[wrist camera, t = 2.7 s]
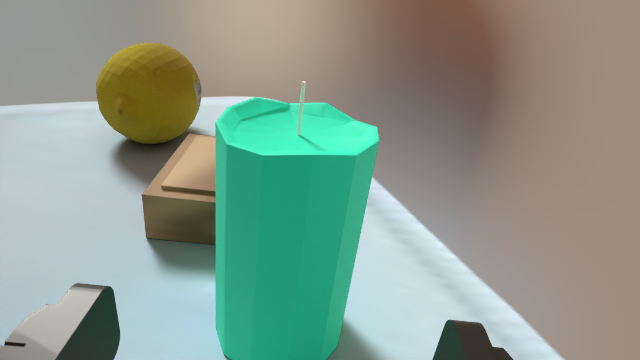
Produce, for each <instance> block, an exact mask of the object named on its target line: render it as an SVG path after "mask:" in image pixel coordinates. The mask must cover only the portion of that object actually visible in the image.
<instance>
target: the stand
mask: <svg viewBox="0 0 640 360" xmlns="http://www.w3.org/2000/svg"><path fill="white" fill-rule="evenodd" d="M142 200H143V210H144V220H145V231H146V238H154V239H163V240H173V241H182V242H192V243H201V244H211V245H216V137H215V136H206V135H198V134H188V136H187V137H186V138H185V140H184V141H183V142H182V143H181V145H180V146H179V147H178V149H177V150H176V151H175V152H174V154H173V155H172V156H171V158H170V159H169V160H168V161H167V163H166V164H165V165H164V167H163V168H162V169H161V170H160V172H159V173H158V174H157V176H156V177H155V178H154V180H153V181H152V182H151V183H150V185H149V186H148V187H147V189H146V190H145V191H144V192H143V194H142Z"/></svg>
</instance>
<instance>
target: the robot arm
mask: <svg viewBox="0 0 640 360" xmlns="http://www.w3.org/2000/svg"><path fill="white" fill-rule="evenodd" d="M119 341H120V328H119V322H118V316H117V309H116V303H115V297H114V292H113V289H112V288H111V287H110V286H100V285H90V284H79V283H77V284H74V285H73V286H72V287H71V288H70V289H69V290H68V291H67V293H66V294H65V295H64V296H63V298H62V299H61V300H60V302H59V303H58V304H57V305H50V304H46V305H45V306H43V307H42V308H40V309H39V310H37V311H36V312H34V313H33V314H32V315H30V316H29V317H27V318H26V319H24V320H23V321H22V322H21V323H20V324H19V325H18V327H17V328H16V329H15V330H14V331H13V333H12V334H11V335H10V336H9V337H8V338H7V340H6V341H5V344H4V346H1V347H0V360H114V358H115V355H116V353H117V350H118V346H119ZM433 360H513V359H512V357H511V356H510V355H509V354H508V353H507V352H506V351H505V350H504V348H498V347H492V345H491V342H490V340H489V338H488V335H487V333H486V331H485V328H484V327H483V325H482V324H481V323H477V322H466V321H456V320H448V321H447V322H446V323H445V326H444V329H443V331H442V334H441V337H440V340H439V343H438V346H437V349H436V351H435V354H434V357H433Z"/></svg>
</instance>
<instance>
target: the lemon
mask: <svg viewBox="0 0 640 360" xmlns="http://www.w3.org/2000/svg"><path fill="white" fill-rule="evenodd" d="M96 85H97V86H96V93H97V99H98V104H99V109H100V111H101V113H102V115H103V117H104V118H105V120H106V121H107V122H108V123H109V125H110V126H111V127H112V128H113V129H114V130H116V131H117V132H119V133H121V134H122V135H124V136H126V137H128V138H130V139H131V140H133V141H136V142H140V143H144V144H156V143H162V142H167V141H170V140H172V139H174V138H176V137H178V136H180V135H181V134H183V133H184V132H185V131H186V130H187V128H188V127H189V126H190V125H191V124H192V122H193V121H194V119H195V117H196V115H197V112H198V110H199V106H200V102H201V84H200V80H199V78H198V75H197V73H196V71H195V69H194V68H193V66H192V64H191V63H190V62H189V60H188V59H187V58H186V57H185V56H184V55H182V54H181V53H180V52H178V51H177V50H175V49H173V48H172V47H170V46H166V45H163V44H158V43H143V44H137V45H133V46H130V47H127V48H125V49H123V50H120V51H119V52H117V53H116V54H115V55H113V56H112V58H111V59H110V60H109V61H108V62H107V63H106V64H105V66H104V67H103V69H102V70H101V72H100V74H99V76H98V80H97V84H96Z"/></svg>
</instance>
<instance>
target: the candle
mask: <svg viewBox="0 0 640 360" xmlns="http://www.w3.org/2000/svg"><path fill="white" fill-rule="evenodd" d="M305 85H306V82H305V81H302V85H301V95H300V103H285V102H280V101H274V100H268V99H263V98H257V97H254V98H252V99H249V100H246V101H243V102H241V103H238V104H235V105H233V106H230V107H228V108H227V109H226V110H225V111H224V112H223V114H222V115H221V116H220V117H219V119H218V120H217V121H216V330H217V334H218V337H219V340H220V343H221V347H222V350H223V353H224V355H225V356H227V357H228V358H229V359H231V360H327V358H328V357H329V356H330V355H331V354H332V352H333V351H334V350H335V349H336V348H337V346H338V342H339V337H340V332H341V327H342V322H343V317H344V312H345V307H346V302H347V297H348V292H349V287H350V283H351V278H352V273H353V268H354V263H355V258H356V253H357V248H358V243H359V238H360V233H361V228H362V223H363V218H364V213H365V208H366V204H367V199H368V194H369V189H370V184H371V179H372V173H373V169H374V164H375V159H376V154H377V149H378V144H379V136H378V130H377V127H375V126H372V125H368V124H365V123H362V122H359V121H356V120H354V119H353V118H351V117H349V116H348V115H346V114H344V113H342V112H341V111H339V110H338V109H336V108H334V107H333V106H331V105H329V104H327V103H304V95H305Z"/></svg>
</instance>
